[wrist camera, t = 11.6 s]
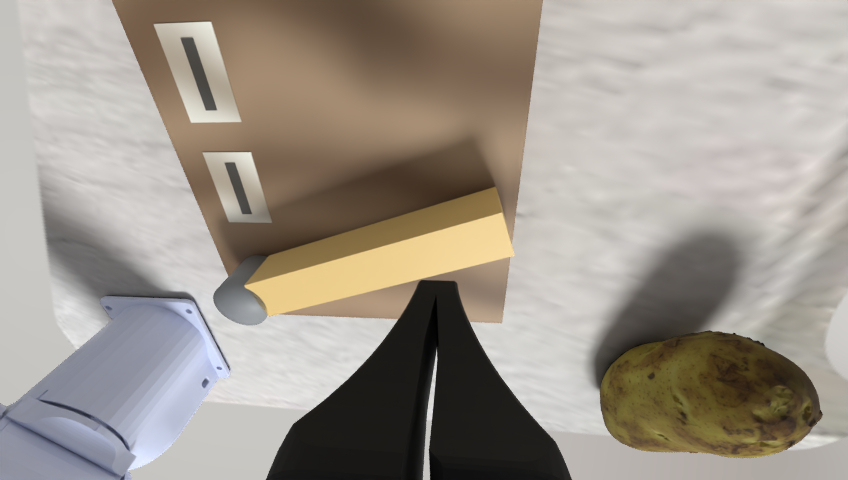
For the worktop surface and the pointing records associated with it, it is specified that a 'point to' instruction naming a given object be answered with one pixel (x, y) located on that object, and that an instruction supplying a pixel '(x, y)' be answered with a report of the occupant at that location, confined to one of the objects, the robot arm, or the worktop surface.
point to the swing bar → (368, 258)
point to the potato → (708, 397)
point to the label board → (341, 119)
